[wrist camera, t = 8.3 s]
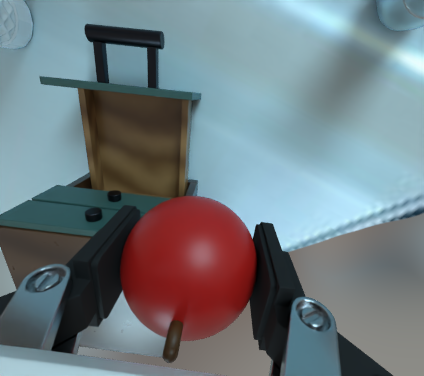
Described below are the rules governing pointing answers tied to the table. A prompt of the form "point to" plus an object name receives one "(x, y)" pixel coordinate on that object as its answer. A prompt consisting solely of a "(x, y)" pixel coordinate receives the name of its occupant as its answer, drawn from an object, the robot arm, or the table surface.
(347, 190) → the table surface
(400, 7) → the silver water bottle
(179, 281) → the apple
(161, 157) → the drawer
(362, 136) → the table surface
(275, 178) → the table surface
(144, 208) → the cabinet
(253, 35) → the table surface
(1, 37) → the white cup
